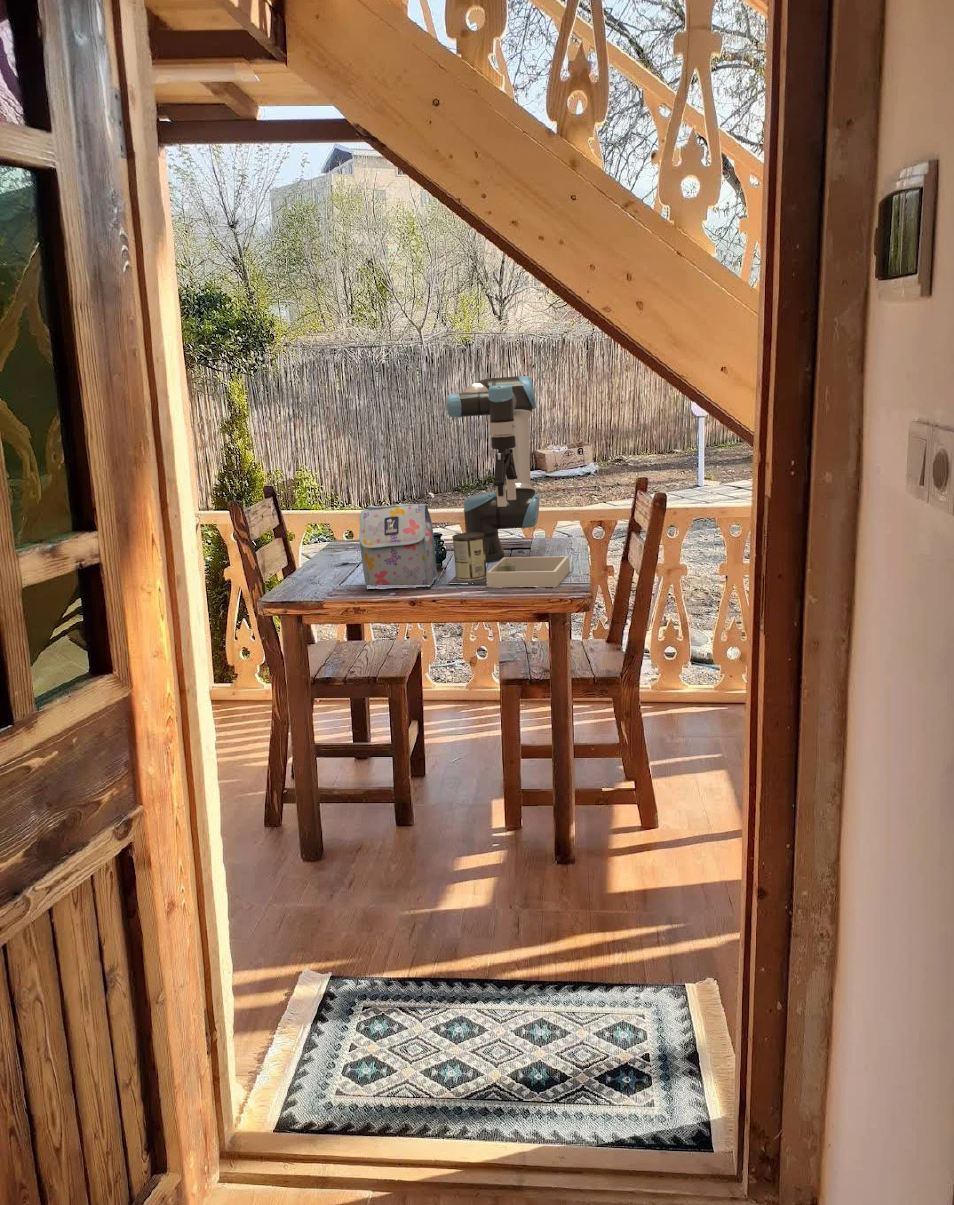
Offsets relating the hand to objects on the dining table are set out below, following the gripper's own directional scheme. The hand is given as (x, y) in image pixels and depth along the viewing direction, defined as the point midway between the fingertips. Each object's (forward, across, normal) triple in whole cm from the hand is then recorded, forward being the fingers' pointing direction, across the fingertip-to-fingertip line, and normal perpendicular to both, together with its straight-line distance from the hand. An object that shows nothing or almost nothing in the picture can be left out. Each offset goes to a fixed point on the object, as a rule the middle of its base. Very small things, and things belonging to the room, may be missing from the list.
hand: (507, 503), depth 328 cm
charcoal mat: (+25, -2, +13) cm, 28 cm away
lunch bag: (+25, -9, +35) cm, 44 cm away
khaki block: (+25, 0, +1) cm, 25 cm away
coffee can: (+24, -2, +13) cm, 27 cm away
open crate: (+25, 0, -6) cm, 26 cm away
